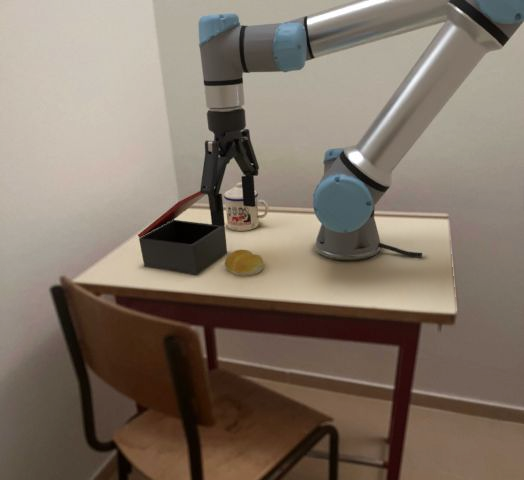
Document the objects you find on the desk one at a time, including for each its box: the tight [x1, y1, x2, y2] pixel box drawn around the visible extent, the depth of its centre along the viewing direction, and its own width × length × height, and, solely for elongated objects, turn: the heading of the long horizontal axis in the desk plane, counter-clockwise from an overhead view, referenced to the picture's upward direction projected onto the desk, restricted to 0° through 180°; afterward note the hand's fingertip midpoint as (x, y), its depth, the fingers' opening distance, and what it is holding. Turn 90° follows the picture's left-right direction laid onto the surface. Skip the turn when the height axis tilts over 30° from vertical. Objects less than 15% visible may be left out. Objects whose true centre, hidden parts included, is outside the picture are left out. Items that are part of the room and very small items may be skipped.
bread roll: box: [224, 249, 265, 277], centre depth 116 cm, size 8×9×4 cm
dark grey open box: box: [138, 219, 228, 276], centre depth 122 cm, size 15×14×7 cm
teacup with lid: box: [223, 181, 270, 232], centre depth 139 cm, size 12×9×12 cm
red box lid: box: [137, 190, 207, 239], centre depth 118 cm, size 16×14×1 cm
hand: (234, 215), depth 112 cm, fingers open, 13 cm apart
